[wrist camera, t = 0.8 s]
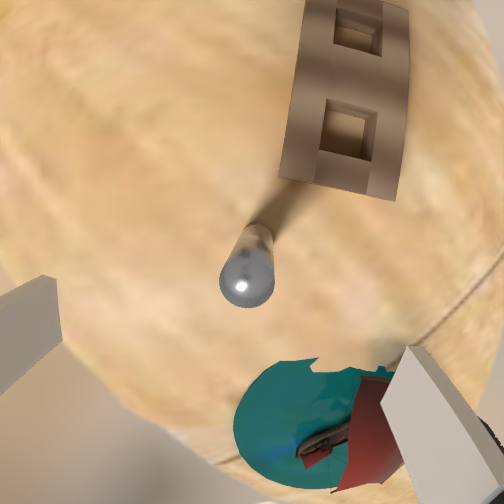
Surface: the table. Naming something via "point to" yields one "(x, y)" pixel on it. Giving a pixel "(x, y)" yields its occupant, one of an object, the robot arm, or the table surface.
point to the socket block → (350, 96)
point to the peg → (249, 268)
